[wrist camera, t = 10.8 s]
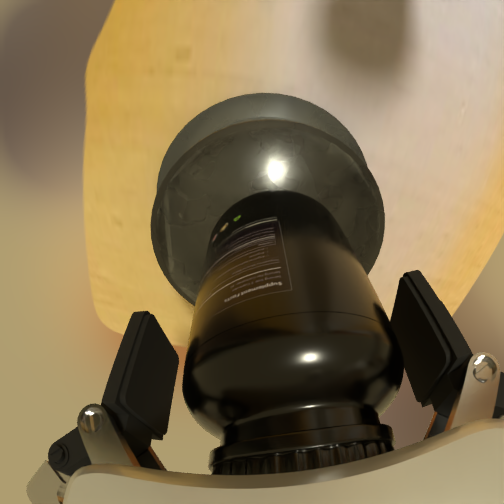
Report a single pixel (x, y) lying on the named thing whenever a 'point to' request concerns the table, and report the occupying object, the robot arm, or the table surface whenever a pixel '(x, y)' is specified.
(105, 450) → the robot arm
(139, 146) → the table surface
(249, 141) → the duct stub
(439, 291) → the table surface
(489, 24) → the table surface
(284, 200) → the supplement bottle
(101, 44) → the table surface
